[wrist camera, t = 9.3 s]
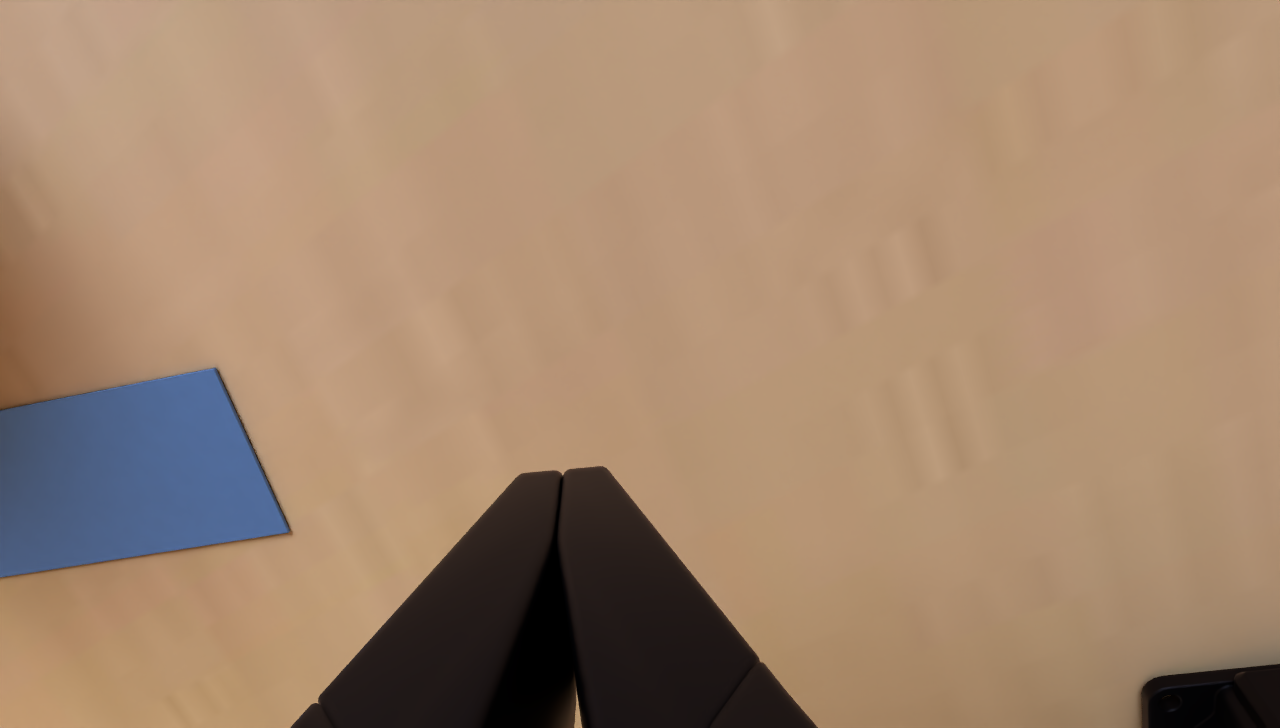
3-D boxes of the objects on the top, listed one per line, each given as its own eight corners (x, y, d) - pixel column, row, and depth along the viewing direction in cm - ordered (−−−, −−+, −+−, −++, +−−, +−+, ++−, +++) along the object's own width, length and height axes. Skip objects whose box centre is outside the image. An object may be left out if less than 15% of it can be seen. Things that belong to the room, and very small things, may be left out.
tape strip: (290, 530, 23) (288, 532, 23) (-138, 597, 26) (-141, 599, 26) (215, 367, 22) (213, 369, 22) (-235, 456, 24) (-239, 458, 24)
